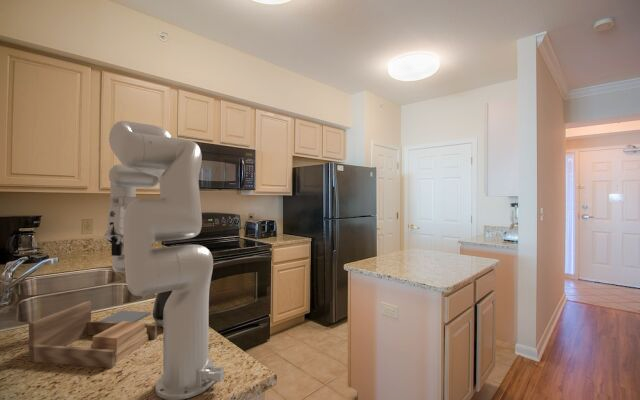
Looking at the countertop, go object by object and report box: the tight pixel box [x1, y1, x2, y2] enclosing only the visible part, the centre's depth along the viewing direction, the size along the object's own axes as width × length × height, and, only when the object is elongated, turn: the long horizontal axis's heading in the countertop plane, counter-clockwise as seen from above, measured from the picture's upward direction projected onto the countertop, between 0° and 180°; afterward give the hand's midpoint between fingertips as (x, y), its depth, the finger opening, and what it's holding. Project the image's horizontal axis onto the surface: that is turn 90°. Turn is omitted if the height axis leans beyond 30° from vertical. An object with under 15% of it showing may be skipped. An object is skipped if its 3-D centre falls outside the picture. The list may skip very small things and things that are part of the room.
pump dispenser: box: [152, 290, 173, 328], centre depth 103 cm, size 10×10×15 cm
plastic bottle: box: [111, 232, 125, 273], centre depth 107 cm, size 6×7×20 cm
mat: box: [99, 310, 152, 322], centre depth 107 cm, size 12×12×1 cm
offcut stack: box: [90, 321, 149, 363], centre depth 86 cm, size 8×12×6 cm, turn 172°
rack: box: [28, 300, 158, 369], centre depth 86 cm, size 24×17×10 cm
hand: (123, 253), depth 107 cm, fingers closed on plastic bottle, 5 cm apart
